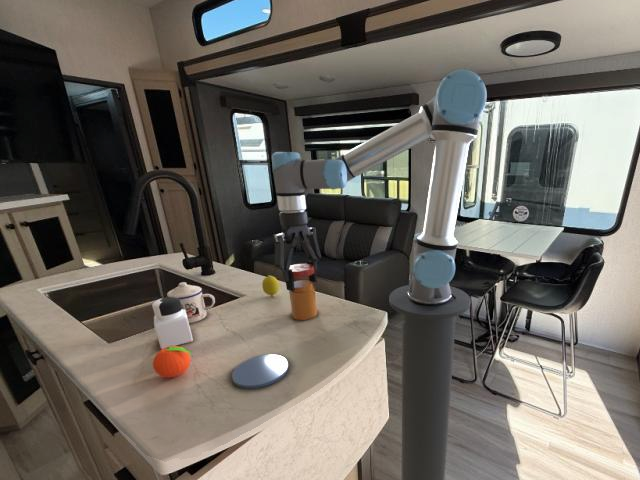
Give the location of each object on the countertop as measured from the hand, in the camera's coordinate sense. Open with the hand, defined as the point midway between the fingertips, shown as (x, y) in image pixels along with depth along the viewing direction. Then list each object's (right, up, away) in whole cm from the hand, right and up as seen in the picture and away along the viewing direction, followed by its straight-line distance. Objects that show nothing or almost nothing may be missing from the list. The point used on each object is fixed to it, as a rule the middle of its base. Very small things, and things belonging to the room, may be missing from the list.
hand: (302, 285), depth 98 cm
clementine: (-21, -20, -25) cm, 39 cm away
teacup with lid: (-34, -10, +2) cm, 35 cm away
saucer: (-2, -20, -25) cm, 32 cm away
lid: (0, +5, -2) cm, 6 cm away
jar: (0, -9, +4) cm, 10 cm away
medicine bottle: (-31, -15, -11) cm, 36 cm away
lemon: (-17, -4, +18) cm, 25 cm away
